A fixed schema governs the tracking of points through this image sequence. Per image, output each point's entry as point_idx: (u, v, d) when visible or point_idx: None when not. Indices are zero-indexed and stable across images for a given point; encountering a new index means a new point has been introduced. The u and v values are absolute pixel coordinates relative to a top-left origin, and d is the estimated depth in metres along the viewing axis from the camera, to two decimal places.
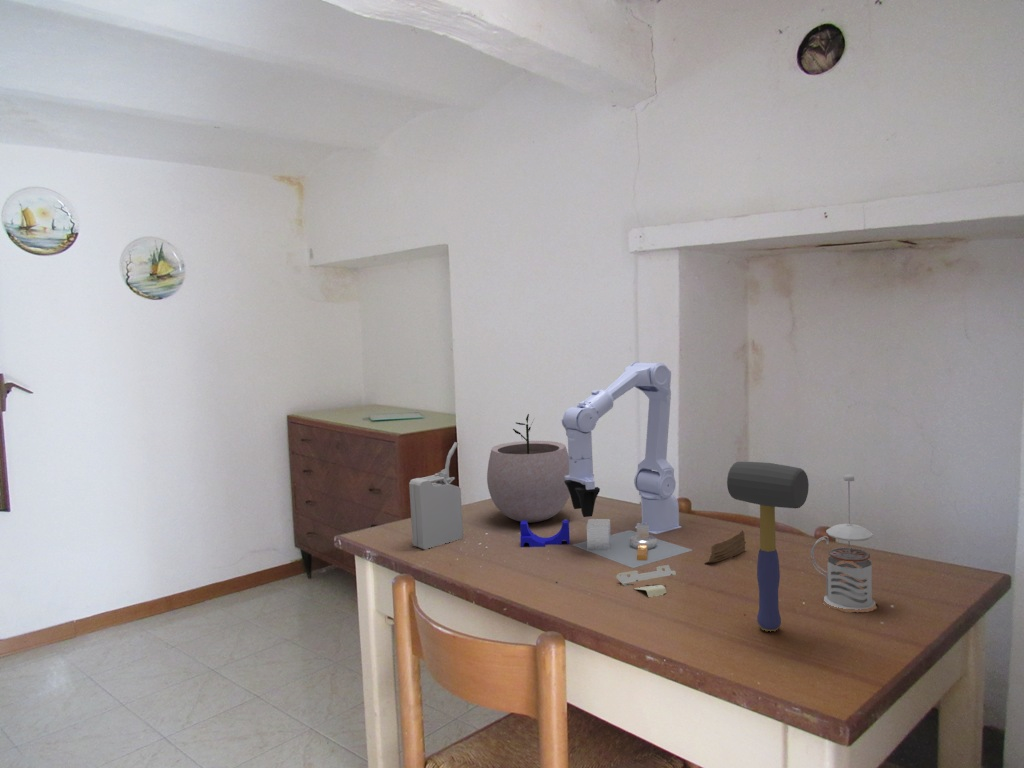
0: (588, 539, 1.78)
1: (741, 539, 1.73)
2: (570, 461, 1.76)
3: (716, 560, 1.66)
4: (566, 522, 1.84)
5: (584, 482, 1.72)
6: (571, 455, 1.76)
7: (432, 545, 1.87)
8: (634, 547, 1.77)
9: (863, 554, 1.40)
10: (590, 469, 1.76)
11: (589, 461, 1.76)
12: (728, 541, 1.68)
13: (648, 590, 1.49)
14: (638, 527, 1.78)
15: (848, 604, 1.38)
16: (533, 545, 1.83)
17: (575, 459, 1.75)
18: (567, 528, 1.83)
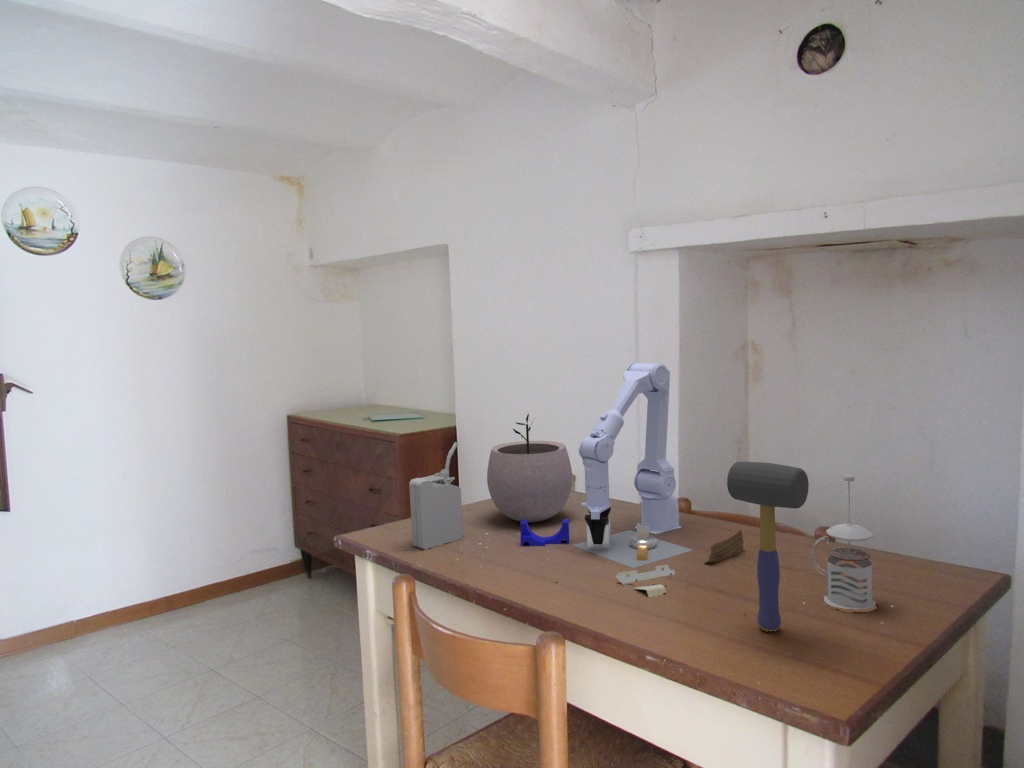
0: (588, 539, 1.78)
1: (739, 539, 1.73)
2: (585, 489, 1.79)
3: (715, 560, 1.66)
4: (566, 521, 1.84)
5: (590, 511, 1.74)
6: (588, 484, 1.78)
7: (432, 545, 1.87)
8: (634, 547, 1.77)
9: (863, 554, 1.40)
10: (603, 499, 1.77)
11: (602, 491, 1.77)
12: (727, 541, 1.68)
13: (648, 590, 1.49)
14: (638, 527, 1.78)
15: (848, 604, 1.38)
16: (533, 544, 1.83)
17: (588, 487, 1.78)
18: (567, 527, 1.83)
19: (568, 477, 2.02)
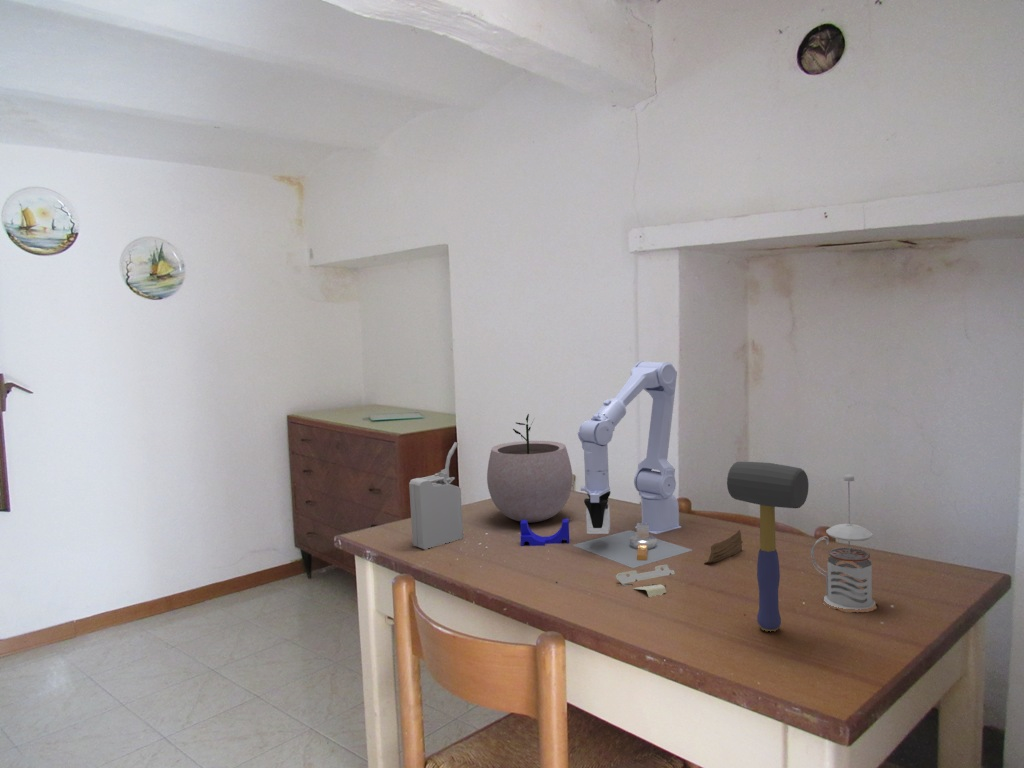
0: (587, 524, 1.78)
1: (738, 539, 1.73)
2: (585, 472, 1.79)
3: (715, 560, 1.66)
4: (566, 521, 1.84)
5: None
6: (588, 468, 1.77)
7: (432, 545, 1.87)
8: (634, 547, 1.77)
9: (863, 554, 1.40)
10: (603, 482, 1.77)
11: (601, 474, 1.76)
12: (726, 541, 1.68)
13: (648, 590, 1.49)
14: (638, 527, 1.78)
15: (848, 604, 1.38)
16: (533, 544, 1.83)
17: (587, 471, 1.77)
18: (567, 527, 1.84)
19: (568, 477, 2.02)
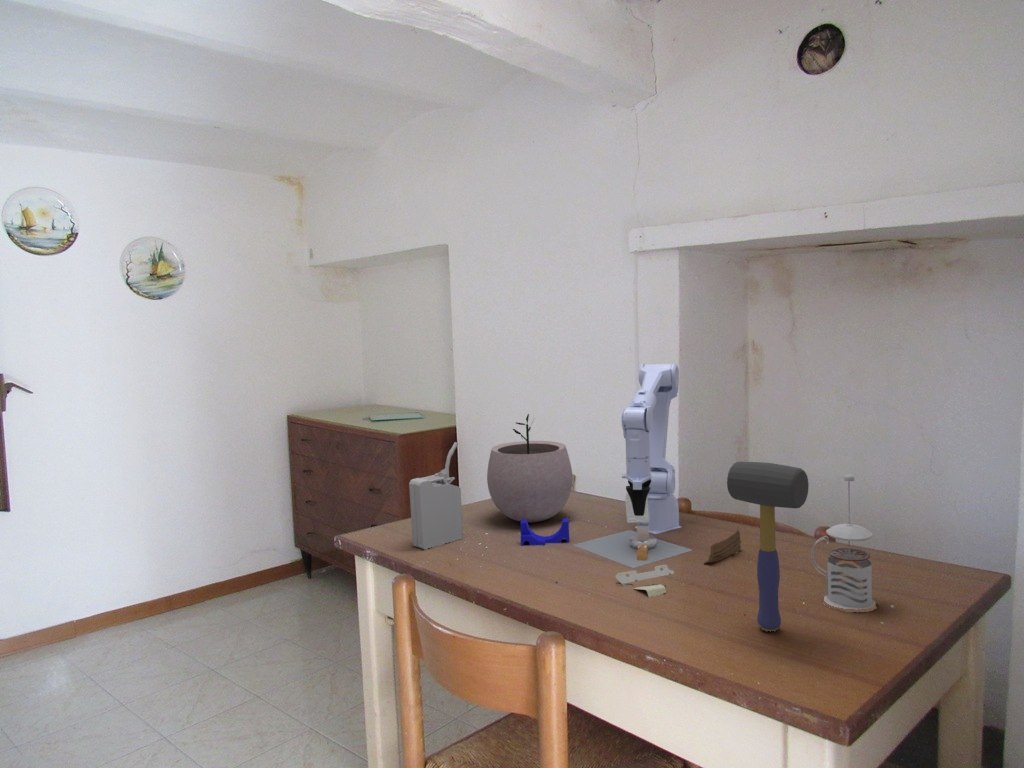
0: (627, 512, 1.77)
1: (737, 539, 1.73)
2: (626, 460, 1.77)
3: (714, 560, 1.66)
4: (566, 521, 1.85)
5: (632, 482, 1.72)
6: (635, 455, 1.75)
7: (432, 545, 1.87)
8: (634, 547, 1.77)
9: (863, 554, 1.40)
10: (645, 469, 1.75)
11: (643, 461, 1.75)
12: (725, 541, 1.68)
13: (648, 590, 1.49)
14: (638, 527, 1.78)
15: (848, 604, 1.38)
16: (533, 544, 1.84)
17: (629, 458, 1.76)
18: (567, 527, 1.84)
19: (568, 477, 2.02)
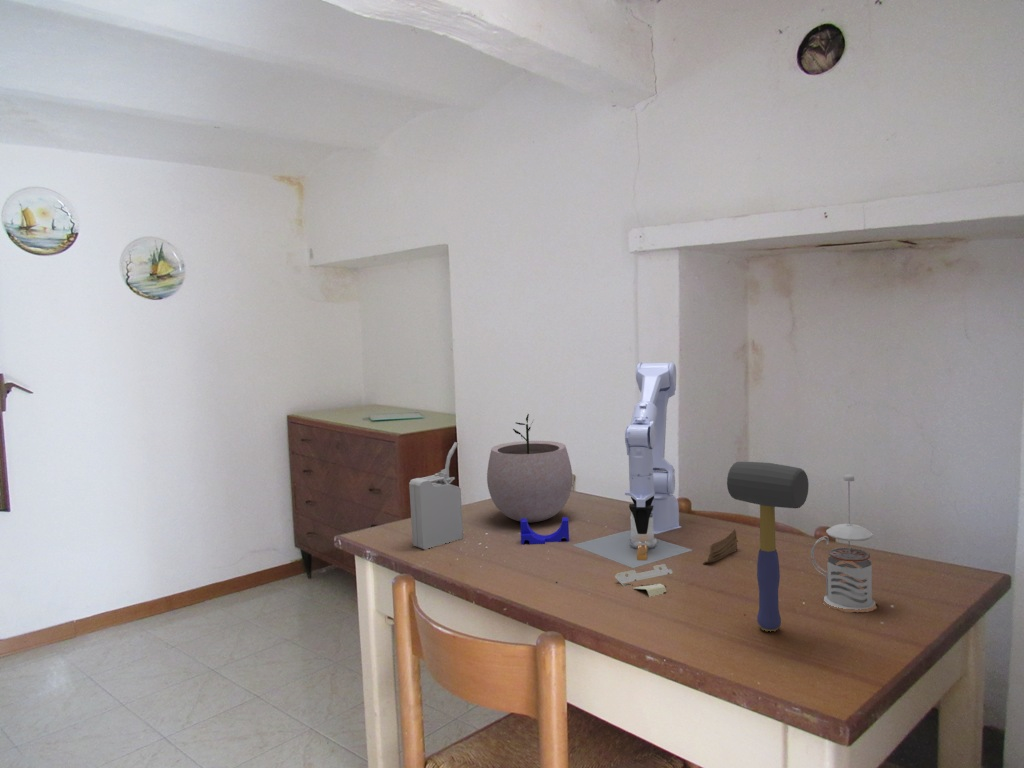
0: (632, 532, 1.77)
1: (733, 538, 1.74)
2: (629, 477, 1.78)
3: (713, 560, 1.66)
4: (566, 520, 1.86)
5: (636, 499, 1.72)
6: (638, 472, 1.75)
7: (432, 545, 1.87)
8: (634, 547, 1.77)
9: (863, 554, 1.40)
10: (648, 487, 1.75)
11: (647, 479, 1.75)
12: (724, 540, 1.68)
13: (648, 589, 1.49)
14: None
15: (848, 604, 1.38)
16: (533, 543, 1.85)
17: (632, 475, 1.76)
18: (567, 526, 1.85)
19: (568, 477, 2.02)
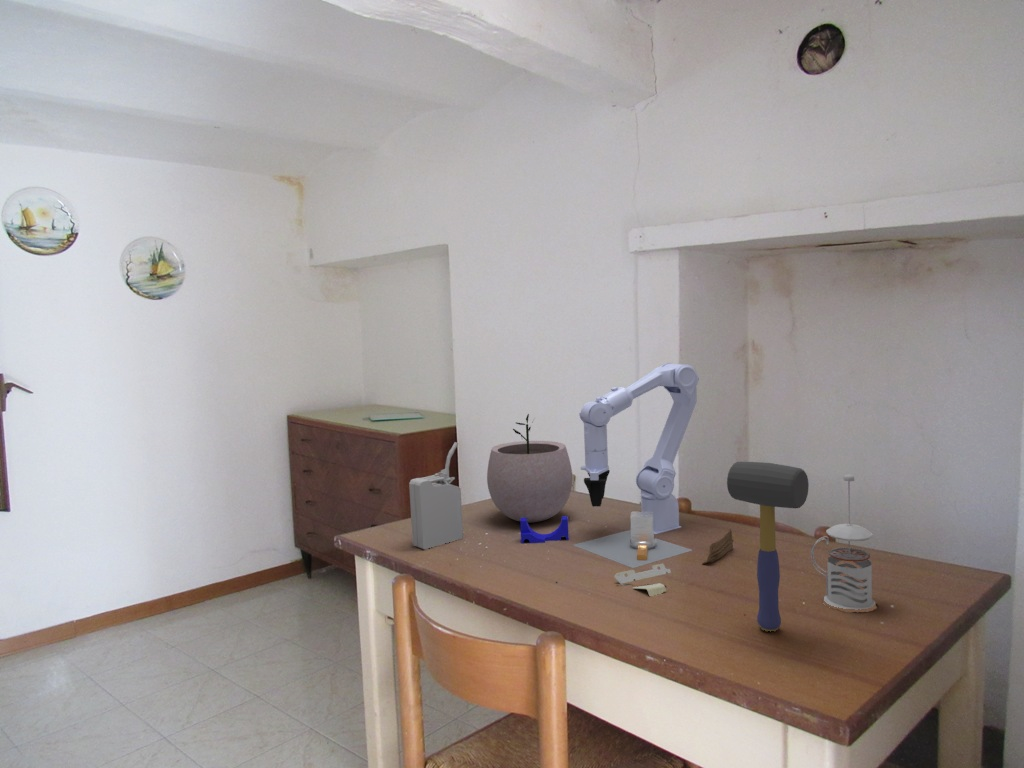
0: (632, 532, 1.77)
1: (729, 538, 1.74)
2: (585, 452, 1.86)
3: (712, 560, 1.66)
4: (565, 518, 1.87)
5: (589, 473, 1.81)
6: (585, 447, 1.85)
7: (432, 545, 1.87)
8: (634, 547, 1.77)
9: (863, 554, 1.40)
10: (602, 461, 1.84)
11: (601, 454, 1.84)
12: (721, 540, 1.68)
13: (649, 589, 1.49)
14: None
15: (848, 604, 1.38)
16: (533, 541, 1.86)
17: (587, 451, 1.85)
18: (566, 524, 1.86)
19: (568, 477, 2.02)
